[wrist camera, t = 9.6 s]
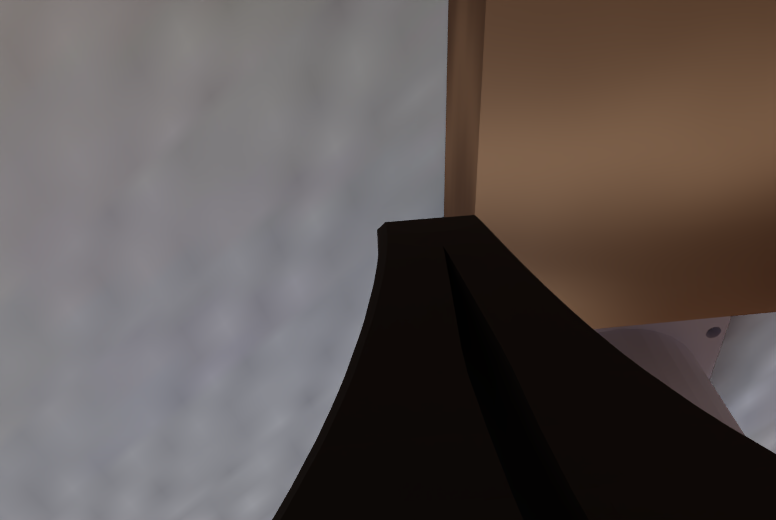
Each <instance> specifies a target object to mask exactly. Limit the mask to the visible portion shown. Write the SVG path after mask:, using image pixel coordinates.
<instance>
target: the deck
mask: <svg viewBox="0 0 776 520" xmlns="http://www.w3.org/2000/svg"><path fill="white" fill-rule="evenodd" d="M466 215H476V216H477V217H478V218H479V219H480V220H481V221H482V222H483V223H484V224H485V225H486V226H487V227H488V228H489V229H490V230H491V231H492V232H493V233H494V234H495V236H496V237H497V238H498V239H499V240H500V241H501V242H502V243H503V244H504V245H505V246H506V247H507V248H508V249H509V250H510V251H511V252H512V253H513V254H514V255H515V256H516V257H517V258H518V259H519V260H520V261H521V262H522V263H523V264H524V265H525V266H526V267H527V268H528V269H529V270H530V271H531V272H532V273H533V274H534V275H535V276H536V277H537V278H538V279H539V280H540V281H541V282H542V283H543V284H544V285H545V286H546V287H547V288H548V289H549V290H550V291H552V292H553V293H554V294H555V295H556V296H557V297H558V298H559V299H560V300H561V301H562V302H563V303H564V304H566V305H567V306H568V307H569V308H570V309H571V310H572V311H573V312H574V313H575V314H576V315H578V316H579V317H580V318H581V319H582V320H583V321H585V322H586V323H587V324H588V325H589V326H590V327H591V328H593V329H601V328H611V327H622V326H632V325H643V324H653V323H664V322H674V321H685V320H695V319H705V318H716V317H726V316H737V315H747V314H758V313H768V312H776V0H449V6H448V53H447V100H446V147H445V194H444V217H454V216H466Z"/></svg>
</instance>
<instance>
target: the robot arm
mask: <svg viewBox="0 0 776 520" xmlns="http://www.w3.org/2000/svg"><path fill="white" fill-rule="evenodd" d="M377 236H378V262H377V269H376V274H375V280H374V285H373V289H372V293H371V297H370V301H369V304H368V308H367V312H366V316H365V320H364V323H363V326H362V330H361V333H360V335H359V338H358V341H357V344H356V347H355V349H354V352H353V355H352V358H351V361H350V363H349V366H348V369H347V372H346V374H345V377H344V380H343V382H342V384H341V387H340V389H339V392H338V394H337V396H336V399H335V401H334V403H333V405H332V408H331V410H330V412H329V414H328V416H327V418H326V421H325V423H324V425H323V427H322V429H321V431H320V433H319V435H318V437H317V439H316V441H315V443H314V445H313V447H312V449H311V451H310V453H309V455H308V457H307V458H306V460H305V462H304V464H303V466H302V468H301V470H300V472H299V474H298V475H297V477H296V479H295V481H294V483H293V485H292V487H291V488H290V490H289V492H288V494H287V495H286V497H285V499H284V501H283V502H282V504H281V506H280V507H279V509H278V511H277V513H276V514H275V516H274V518H273V519H272V520H776V454H775V453H773V452H771V451H770V450H768V449H766V448H765V447H763V446H761V445H760V444H758V443H756V442H754V441H753V440H751V439H749V438H748V437H746V436H745V435H744V433H743V432H742V430H741V429H740V427H739V426H738V424H737V422H736V421H735V419H734V418H733V416H732V415H731V413H730V412H729V410H728V408H727V407H726V405H725V404H724V402H723V401H722V399H721V397H720V396H719V394H718V393H717V391H716V390H715V388H714V387H713V385H712V383H711V382H710V377H711V374H712V371H713V368H714V365H715V362H716V359H717V357H718V354H719V351H720V348H721V345H722V342H723V339H724V336H725V334H726V331H727V328H728V325H729V322H730V318H731V316H726V317H716V318H705V319H695V320H685V321H674V322H664V323H653V324H643V325H632V326H622V327H611V328H601V329H593V328H591V327H590V326H589V325H588V324H587V323H586V322H585V321H583V320H582V319H581V318H580V317H579V316H578V315H576V314H575V313H574V312H573V311H572V310H571V309H570V308H569V307H568V306H567V305H566V304H564V303H563V302H562V301H561V300H560V299H559V298H558V297H557V296H556V295H555V294H554V293H553V292H552V291H550V290H549V289H548V288H547V287H546V286H545V285H544V284H543V283H542V282H541V281H540V280H539V279H538V278H537V277H536V276H535V275H534V274H533V273H532V272H531V271H530V270H529V269H528V268H527V267H526V266H525V265H524V264H523V263H522V262H521V261H520V260H519V259H518V258H517V257H516V256H515V255H514V254H513V253H512V252H511V251H510V250H509V249H508V248H507V247H506V246H505V245H504V244H503V243H502V242H501V241H500V240H499V239H498V238H497V237H496V236H495V234H494V233H493V232H492V231H491V230H490V229H489V228H488V227H487V226H486V225H485V224H484V223H483V222H482V221H481V220H480V219H479V218H478V217H477V216H476V215H466V216H454V217H442V218H430V219H418V220H406V221H394V222H385V223H384V224H383V225H382V226H381V227H380V228H379V229H378V230H377ZM711 328H712V329H711ZM709 329H710V330H709Z"/></svg>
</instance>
